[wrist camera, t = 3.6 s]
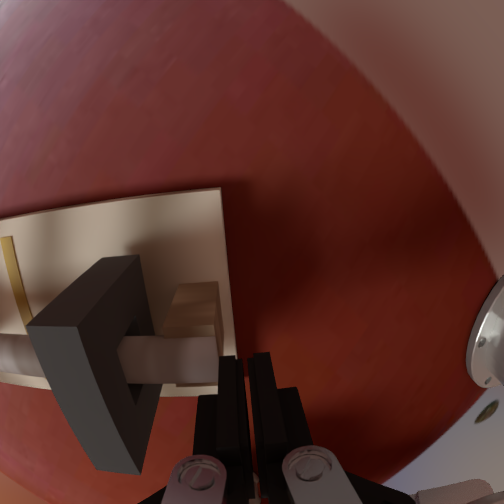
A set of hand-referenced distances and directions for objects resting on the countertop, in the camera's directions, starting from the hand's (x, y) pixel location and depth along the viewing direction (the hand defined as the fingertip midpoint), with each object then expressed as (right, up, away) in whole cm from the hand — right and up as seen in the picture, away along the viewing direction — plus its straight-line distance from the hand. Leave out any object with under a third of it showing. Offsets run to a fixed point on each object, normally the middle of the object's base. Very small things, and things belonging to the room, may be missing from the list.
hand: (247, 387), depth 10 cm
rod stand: (-11, +1, +7) cm, 13 cm away
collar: (-6, +1, +5) cm, 8 cm away
